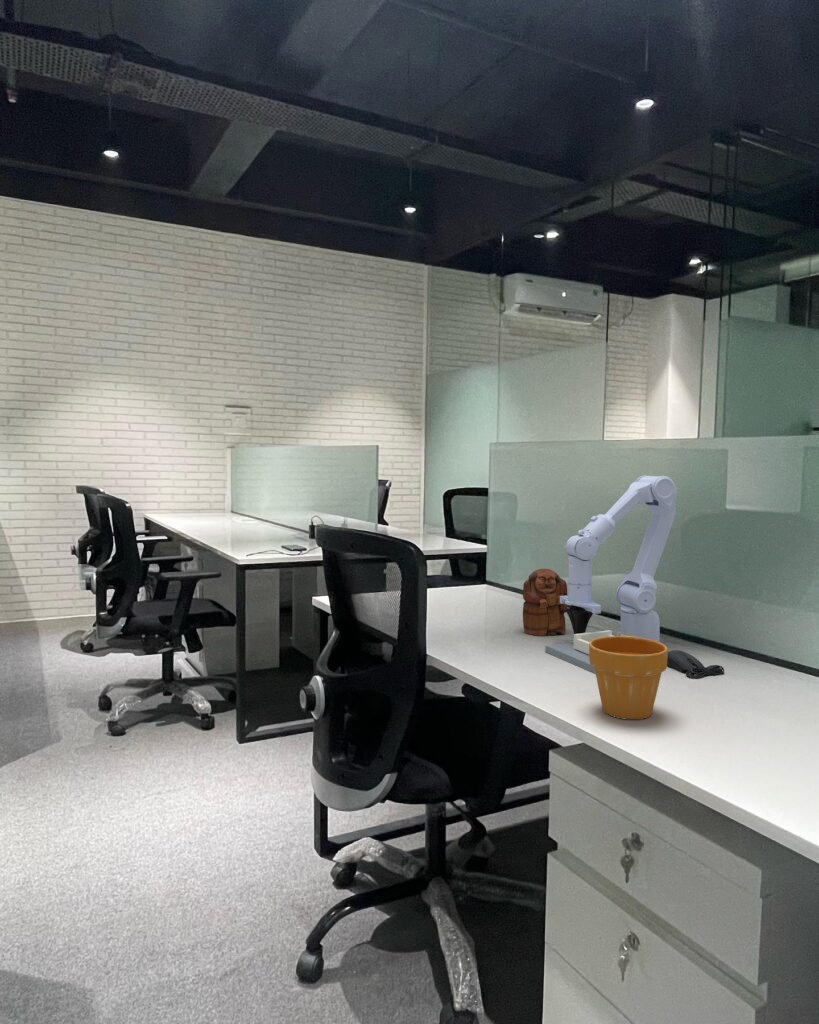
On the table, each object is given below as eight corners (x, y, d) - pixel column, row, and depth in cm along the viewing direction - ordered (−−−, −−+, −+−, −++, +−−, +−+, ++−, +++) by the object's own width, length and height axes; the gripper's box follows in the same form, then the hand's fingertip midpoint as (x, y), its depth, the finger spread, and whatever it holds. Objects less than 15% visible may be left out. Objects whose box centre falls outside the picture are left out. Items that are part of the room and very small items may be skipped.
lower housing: (608, 643, 179) (609, 630, 179) (635, 653, 170) (635, 639, 170) (573, 648, 175) (573, 634, 174) (598, 658, 166) (599, 643, 165)
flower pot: (621, 730, 126) (623, 658, 125) (573, 705, 139) (573, 640, 138) (683, 718, 132) (684, 649, 131) (630, 696, 145) (631, 632, 144)
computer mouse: (680, 659, 173) (680, 644, 173) (728, 676, 160) (728, 659, 159) (647, 664, 169) (647, 648, 169) (693, 681, 156) (693, 664, 155)
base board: (597, 645, 185) (597, 631, 185) (664, 670, 163) (664, 654, 163) (545, 651, 179) (545, 637, 178) (607, 678, 157) (607, 662, 156)
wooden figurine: (528, 637, 194) (529, 571, 193) (521, 631, 200) (521, 567, 199) (570, 635, 196) (570, 570, 195) (561, 629, 202) (561, 566, 201)
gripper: (550, 580, 185) (549, 631, 186) (584, 589, 172) (583, 644, 173) (572, 578, 188) (572, 629, 189) (608, 587, 175) (607, 641, 176)
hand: (579, 636), depth 181 cm, fingers closed
